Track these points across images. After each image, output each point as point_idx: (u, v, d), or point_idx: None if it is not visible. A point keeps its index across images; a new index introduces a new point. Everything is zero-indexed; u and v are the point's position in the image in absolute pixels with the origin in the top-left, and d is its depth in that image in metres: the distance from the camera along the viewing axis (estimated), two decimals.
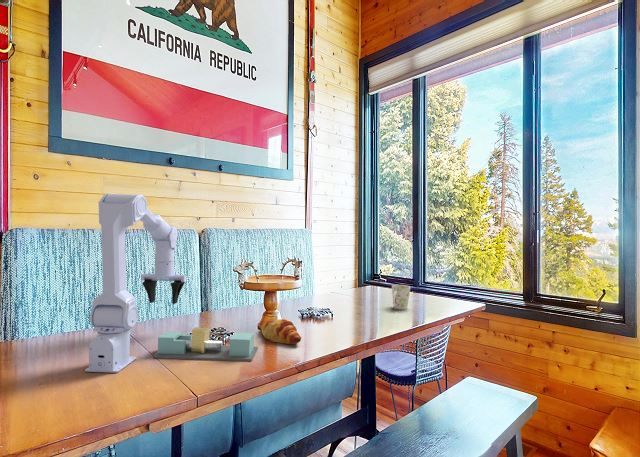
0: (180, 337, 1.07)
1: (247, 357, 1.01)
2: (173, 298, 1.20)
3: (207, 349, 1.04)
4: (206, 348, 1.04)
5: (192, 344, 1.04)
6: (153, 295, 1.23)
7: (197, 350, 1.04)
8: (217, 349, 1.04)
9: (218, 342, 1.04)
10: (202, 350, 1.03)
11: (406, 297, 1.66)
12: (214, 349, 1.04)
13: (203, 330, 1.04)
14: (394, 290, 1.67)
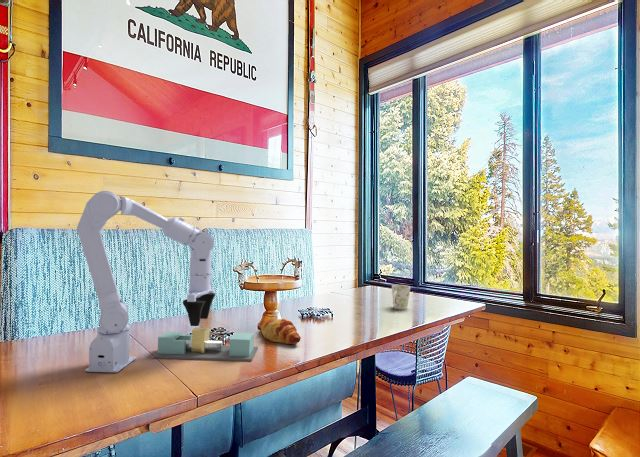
0: (180, 337, 1.07)
1: (247, 357, 1.01)
2: None
3: (207, 349, 1.04)
4: (206, 348, 1.04)
5: (192, 344, 1.04)
6: (204, 311, 1.09)
7: (197, 350, 1.04)
8: (217, 349, 1.04)
9: (218, 342, 1.04)
10: (202, 350, 1.03)
11: (406, 297, 1.66)
12: (214, 349, 1.04)
13: (203, 330, 1.04)
14: (394, 290, 1.67)
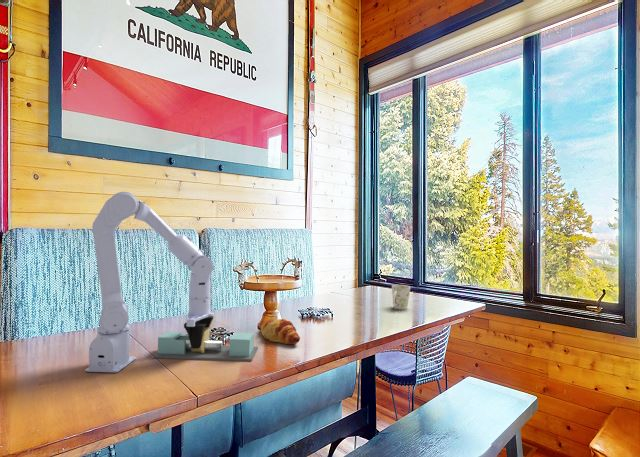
0: (180, 337, 1.07)
1: (247, 357, 1.01)
2: None
3: (207, 349, 1.04)
4: (206, 348, 1.04)
5: None
6: None
7: (197, 350, 1.04)
8: (217, 349, 1.04)
9: (218, 342, 1.04)
10: (202, 350, 1.03)
11: (406, 297, 1.66)
12: (214, 349, 1.04)
13: (203, 330, 1.04)
14: (394, 290, 1.67)
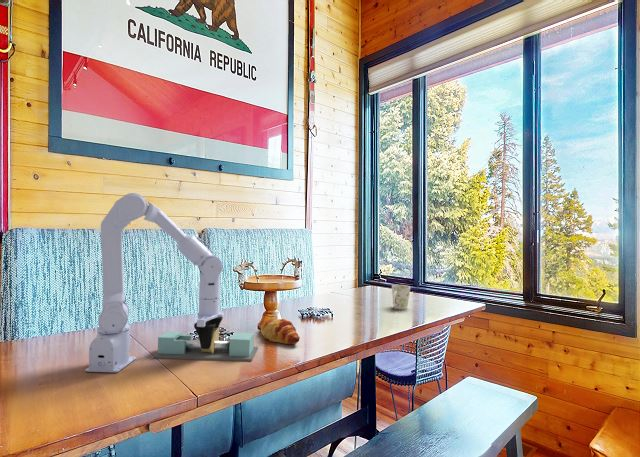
0: (180, 337, 1.07)
1: (247, 357, 1.01)
2: None
3: (217, 349, 1.04)
4: (216, 348, 1.04)
5: None
6: None
7: (207, 350, 1.04)
8: (227, 349, 1.04)
9: (228, 342, 1.04)
10: (212, 350, 1.03)
11: (406, 297, 1.66)
12: (224, 349, 1.04)
13: (213, 330, 1.04)
14: (394, 290, 1.67)
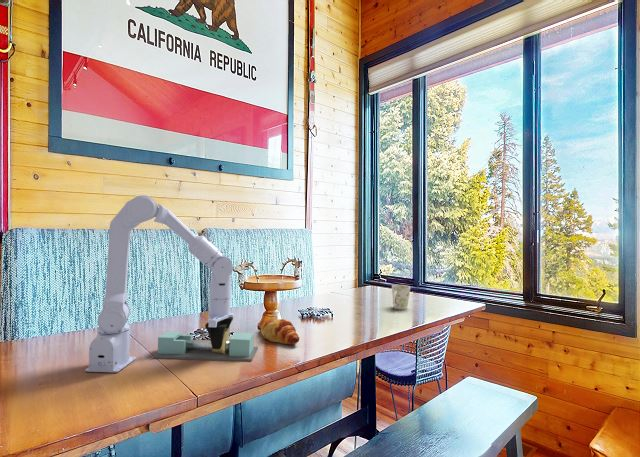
0: (180, 337, 1.07)
1: (247, 357, 1.01)
2: None
3: (228, 350, 1.04)
4: (227, 349, 1.04)
5: None
6: None
7: (218, 351, 1.04)
8: None
9: None
10: (223, 351, 1.03)
11: (406, 297, 1.66)
12: None
13: (224, 331, 1.04)
14: (394, 290, 1.67)
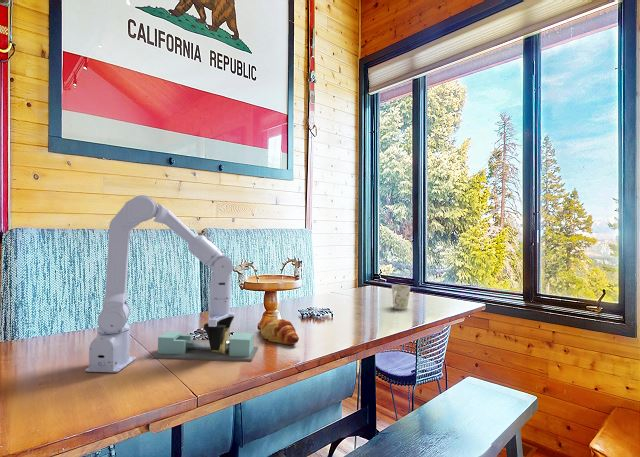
0: (180, 337, 1.07)
1: (247, 357, 1.01)
2: None
3: (228, 350, 1.04)
4: (227, 349, 1.04)
5: None
6: None
7: (218, 351, 1.04)
8: None
9: None
10: (223, 351, 1.03)
11: (406, 297, 1.66)
12: None
13: (224, 331, 1.04)
14: (394, 290, 1.67)
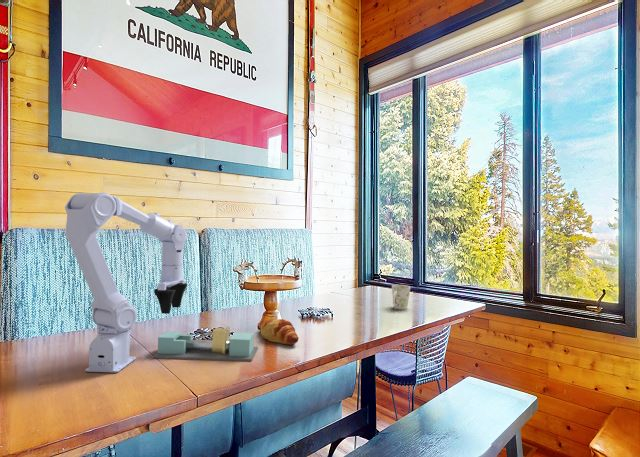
0: (180, 337, 1.07)
1: (247, 357, 1.01)
2: None
3: (228, 350, 1.04)
4: (227, 349, 1.04)
5: (213, 344, 1.04)
6: (177, 300, 1.15)
7: (218, 351, 1.04)
8: None
9: None
10: (223, 351, 1.03)
11: (406, 297, 1.66)
12: None
13: (224, 331, 1.04)
14: (394, 290, 1.67)
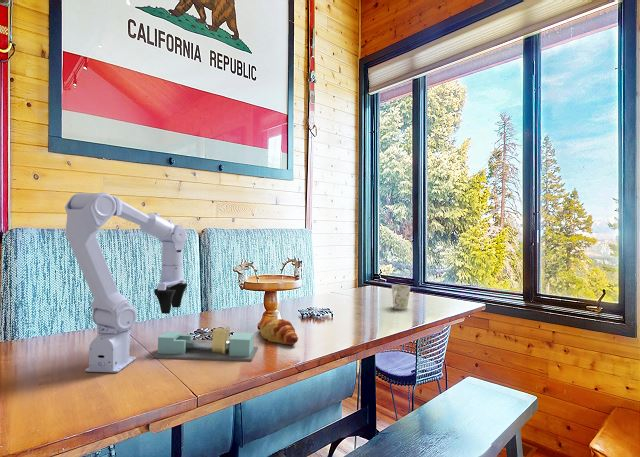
0: (180, 337, 1.07)
1: (247, 357, 1.01)
2: None
3: (228, 350, 1.04)
4: (227, 349, 1.04)
5: (213, 344, 1.04)
6: (177, 300, 1.15)
7: (218, 351, 1.04)
8: None
9: None
10: (223, 351, 1.03)
11: (406, 297, 1.66)
12: None
13: (224, 331, 1.04)
14: (394, 290, 1.67)
